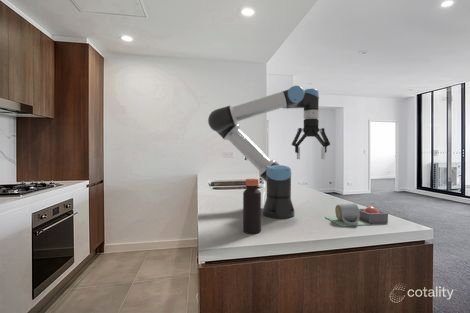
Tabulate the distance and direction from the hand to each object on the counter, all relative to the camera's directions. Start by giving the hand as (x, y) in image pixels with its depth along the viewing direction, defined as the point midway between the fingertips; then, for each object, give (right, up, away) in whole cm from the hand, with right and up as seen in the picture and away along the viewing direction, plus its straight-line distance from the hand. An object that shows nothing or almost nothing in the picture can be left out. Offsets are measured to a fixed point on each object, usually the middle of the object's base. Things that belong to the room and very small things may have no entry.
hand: (310, 159), depth 127 cm
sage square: (+9, -27, -22) cm, 36 cm away
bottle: (-34, -28, -35) cm, 56 cm away
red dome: (+21, -26, -20) cm, 39 cm away
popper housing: (+21, -27, -20) cm, 39 cm away
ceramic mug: (+9, -27, -24) cm, 37 cm away
